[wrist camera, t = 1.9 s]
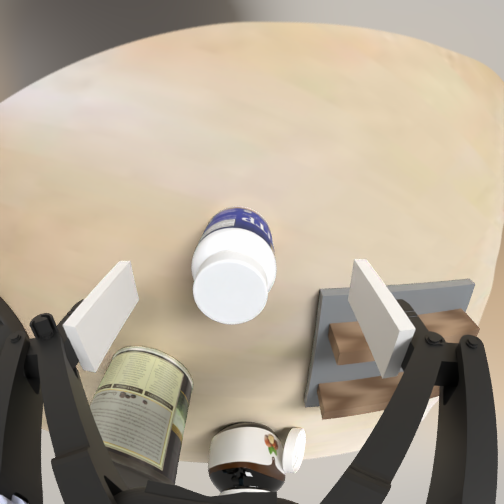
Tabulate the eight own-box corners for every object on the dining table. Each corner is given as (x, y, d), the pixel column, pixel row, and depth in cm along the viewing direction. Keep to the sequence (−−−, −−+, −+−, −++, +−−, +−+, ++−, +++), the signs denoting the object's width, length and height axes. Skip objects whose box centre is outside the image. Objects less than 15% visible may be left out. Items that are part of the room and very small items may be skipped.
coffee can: (210, 394, 31) (197, 500, 18) (146, 407, 33) (120, 494, 20) (159, 334, 27) (115, 453, 14) (95, 355, 29) (48, 447, 16)
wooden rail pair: (316, 391, 29) (322, 419, 25) (329, 323, 25) (340, 352, 21) (433, 372, 29) (445, 393, 25) (461, 308, 25) (480, 328, 21)
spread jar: (203, 427, 34) (194, 498, 23) (268, 400, 31) (272, 485, 21) (257, 455, 38) (258, 516, 27) (318, 432, 35) (329, 500, 24)
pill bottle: (283, 245, 23) (299, 307, 15) (230, 277, 24) (221, 347, 16) (246, 191, 22) (242, 228, 13) (192, 228, 23) (160, 282, 15)
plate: (304, 399, 31) (305, 407, 30) (319, 289, 25) (322, 296, 24) (428, 379, 31) (431, 385, 30) (469, 278, 25) (475, 283, 24)
